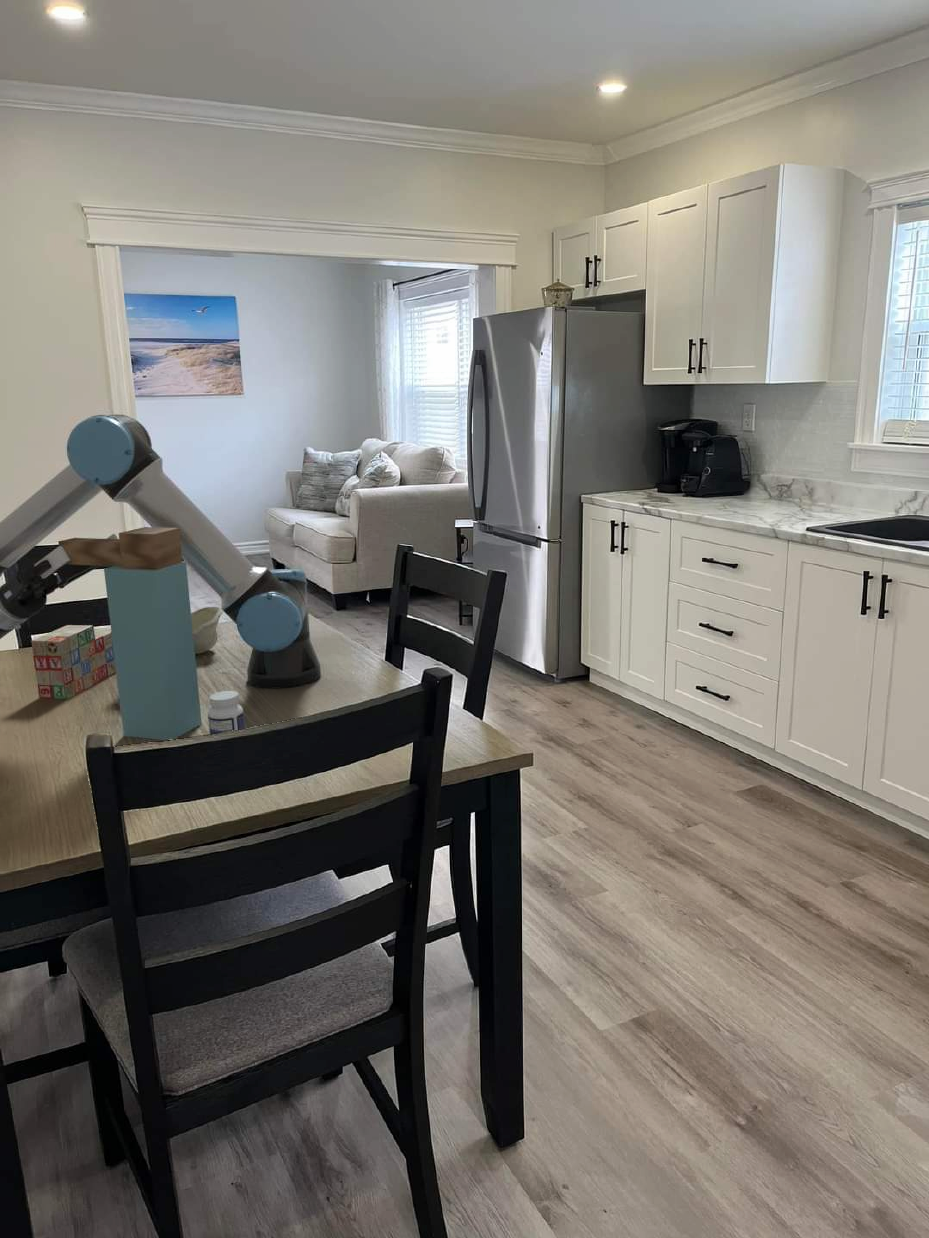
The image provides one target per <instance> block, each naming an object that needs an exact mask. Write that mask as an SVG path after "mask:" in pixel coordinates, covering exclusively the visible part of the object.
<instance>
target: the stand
mask: <svg viewBox="0 0 929 1238" xmlns="http://www.w3.org/2000/svg"><path fill="white" fill-rule="evenodd" d="M187 569H188V567H187V562H186V561H185V560H182V563H179V564H175V565H172V566H169V567H165V568H162V569H159V570H150V569H126V568H122V566H108V567H106V568H104V569H103V571H104V572H103V573H104V582H105V589H106V598H107V605H108V614H109V615H108V616H109V623H110V628H111V633H112V641H113V650H114V658H115V666H116V672H115V674H116V681H117V691H118V698H119V707H120V716H121V722H122V723H121V724H122V731H123V733H122V734H123V737H130V738H131V737H132V738H140V739H141V738H142V739H150V740H160V741H167V740H169V739H175V740H176V739H178V738H179V737H178V736H180V737H182V736H183V735H185V734H187V733H188V732H190V731H191V730H193V729H195V728H196V727H198V726H199V725H201V724H203V723H202V722H203V721H202V714H201V701H200V694H199V693H200V691H199V682H198V671H197V661H196V654H195V650H194V639H193V629H192V619H191V613H192V610H191V600H190V590H189V588H190V587H189V581H188V580H189V578H188V570H187Z"/></svg>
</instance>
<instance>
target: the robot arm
mask: <svg viewBox="0 0 929 1238" xmlns="http://www.w3.org/2000/svg"><path fill="white" fill-rule="evenodd" d="M66 456H67V459H68V462H69V464H68V465H66V467H64V468H63V469H62V470H61V471H59V473H58V474H56V475H55V476H54V477H53V478H52V479H50V480H49V481H48V482H47V483H46V484H44V485H43V486H42V487H41V488H39V490H37V491H36V492H35V493H33V495H31V496H29V498H28V499H26V500H25V501H24V502H23V503H22V504H20V505H19V506H18V507H16V509H14V510H13V511H12V512H10V514H9V515H7V516H6V517H5V518H3V519H2V520H1V521H0V578H1V577H2V575H3V573H5V572H7V570H8V569H10V567H11V566H13V565H14V564H15V563H17V561H19V560H20V559H21V558H22V557H24V556H25V555H26V554H28V553H29V551H31V550H32V549H33V548H35V547H36V546H37V545H38V544H39V543H41V542H42V541H43V540H44V539H45V538H47V537H48V536H49V535H50V534H52V533H53V532H54V531H55V530H56V529H58V528H59V527H60V526H61V525H63V524H64V522H66V521H67V520H68V519H70V518H71V517H73V515H75V514H76V513H77V512H78V511H79V510H81V509H82V508H83V507H85V505H87V504H88V503H89V502H91V501H92V500H93V499H94V498H96V496H97V495H99V494H100V493H102V492H104V493H105V494H106V495H107V496H108V497H109V498H111V500H112V501H113V502H115V503H126V504H128V505H129V506H130V507H131V508H132V509H133V510H134V511H135V512H136V513H137V515H139V516H140V517H141V518H142V519H143V520H144V521H145V522H146V523H147V524H148V526H150V527H159V528H179V532H180V542H181V552H182V560H183V561H186V564H187V565H188V566H189V567H190V568H191V569H192V570H193V571H194V572H195V573H196V574H197V575H198V576H199V577H201V578H202V580H203V581H205V582H204V583H206V584H208V586H209V587H210V588H211V589H212V590H213V591H214V592H215V593H216V594H217V595H218V596H219V597H220V600H221V604H220V605H221V607H220V608H221V609H222V610H223V612H224V613H225V614H226V615H227V617H229V618H230V619H231V621H233V623H234V624H236V628H237V632H238V634H239V636H240V637H241V639H242V640H243V642H245V644H246V645H248V646H249V647H251V653H250V658H249V662H248V665H247V671H246V673H247V681H248V683H249V684H251V685H253V686H257V687H262V688H269V689H270V688H272V689H274V688H276V689H277V688H290V687H297V686H302V685H305V684H310V683H312V682H314V681H316V680H318V679H319V678H320V677H321V676H322V675H321V674H322V673H321V662H320V661H319V659H318V656H317V654H316V651H315V648H314V646H313V643H312V641H311V632H310V619H309V607H308V605H309V603H308V602H309V601H308V589H307V586H308V581H307V578H306V577H307V576H306V572H305V571H304V570H302V569H296V568H284V569H283V568H281V569H278V568H277V569H268V567H264V566H256V565H254V564H253V563H252V562H251V561H250V560H249V559H248V558H247V557H246V556H245V555H244V554H243V553H242V552H241V551H240V550H239V549H238V548H237V547H236V545H234V543H232V541H231V540H230V539H229V538H228V537H227V536H226V535H225V534H224V533H223V532H222V531H221V530H220V529H219V528H218V527H217V526H216V525H215V524H214V523H213V522H212V521H211V520H210V519H209V518H208V516H206V514H204V513H203V511H202V510H201V509H200V508H198V506H197V505H196V504H195V503H194V502H193V501H192V500H191V499H190V498H189V497H188V496H187V495H186V494H185V493H184V492H183V491H182V490H181V489H180V488H179V487H178V486H177V485H176V484H175V483H174V482H173V481H172V479H171V478H169V477H168V475H167V474H166V473H165V472H164V470H163V458H162V457H161V456H160V455H159V454H158V453H157V452H156V451H155V450H154V449H153V444H152V439H151V437H150V434H149V431H148V430H147V429H146V428H145V426H144V425H143V424H142V423H140V421H138V420H137V419H135V418H133V417H132V416H128V415H124V414H109V415H107V414H97V415H91V416H90V417H88V418H86V419H84V420H82V421H81V422H79V423H78V424H76V425H75V427H73V429H72V431H70V434H69V436H68V439H67V443H66ZM106 539H119V537H117V535H116V534H115V533H113V534H111V535H110V536H108V537H106ZM69 560H70V559H69V558H68V556H67V554H66V553H65V551H64V549H63V548H62V546H60V547H59V546H58V547H56V548H55V549H53V550H52V551H50V552H49V553H48V554H47V555H45V556H44V557H43V558H41V559H40V560H38V561H37V562H35V564H33V565H34V566H28V567H27V568H26V569H25V571H24V570H23V569H20V570H18V571H16V572H15V574H14V575H13V577H11V578H9V580H7V581H6V582H5V583H3V584H2V585H0V640H1V639H2V638H4V637H5V636H7V635H8V634H9V633H11V632H12V631H14V629H15V630H20V629H21V624H23V623H24V622H26V621H27V620H28V619H30V618H32V617H33V616H35V615H36V614H38V613H40V612H41V611H42V610H43V609H44V608H45V607H46V605H47V600H48V599H47V598H48V597H47V596H48V595H51V594H52V593H54V592H55V590H57V589H60V590H61V589H64V588H65V587H66V586H68V585H69V584H71V583H72V582H74V581H76V580H78V579H79V578H81V577H83V576H84V575H86V574H89V573H90V572H92V571H94V570H95V569H97V568H99V567H100V566H98V565H73V564H65V563H67V562H68V561H69ZM55 573H56V574H55Z"/></svg>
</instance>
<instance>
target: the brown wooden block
mask: <svg viewBox="0 0 929 1238" xmlns="http://www.w3.org/2000/svg"><path fill="white" fill-rule="evenodd" d="M57 542H58V547H60V546H62V548H63V549H64V551H65V553H66V554H67V556H68V558H69V559H70V560H69V561H68V562H67V563H65V564H64V565H67V564H73V565H98V566H99V567H101V566H102V567H103V566H106V567H112V566H122V568H126V569H150V570H159V569H162V568H165V567H169V566H172V565H175V564H179V563H182V561H183V558H182V552H181V542H180V532H179V528H159V527H151V526H150V527H149V526H144V527H138V528H136V529H135V528H134V529H132V530H127V531H122V532H118V539H107V538H96V537H95V538H94V537H93V538H91V537H90V538H88V537H87V538H86V537H73V538H68V539H63V540H59V541H57Z"/></svg>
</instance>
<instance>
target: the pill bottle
mask: <svg viewBox="0 0 929 1238" xmlns="http://www.w3.org/2000/svg"><path fill="white" fill-rule="evenodd" d="M239 696H240V695H239V693H238V691H234V690H224V691H222V690H221V691H218V692H214V693H213V694H211V695H209V704H210V705H211V708H209V709H208V712H207V717H208V718H207V719H208V729H209V730H208V731H209V735H212V734H218V733H222V732H227V731H232V730H243V729H245V730H246V727H245V716H244V709H243V707H242V706H241V705H240V704H238V703H239V701H240V697H239Z"/></svg>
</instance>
